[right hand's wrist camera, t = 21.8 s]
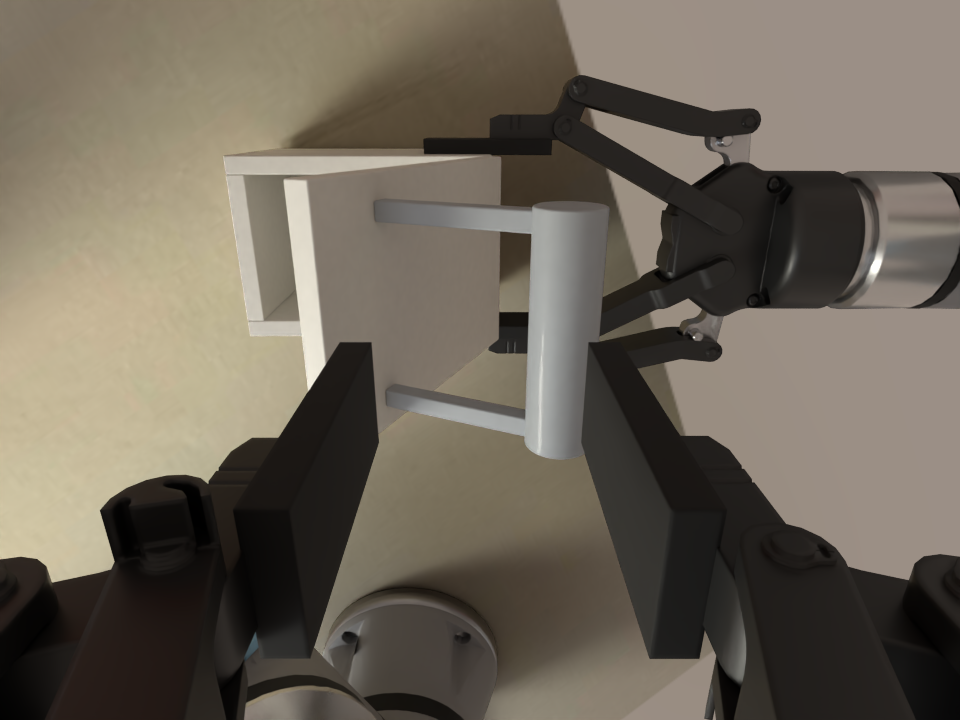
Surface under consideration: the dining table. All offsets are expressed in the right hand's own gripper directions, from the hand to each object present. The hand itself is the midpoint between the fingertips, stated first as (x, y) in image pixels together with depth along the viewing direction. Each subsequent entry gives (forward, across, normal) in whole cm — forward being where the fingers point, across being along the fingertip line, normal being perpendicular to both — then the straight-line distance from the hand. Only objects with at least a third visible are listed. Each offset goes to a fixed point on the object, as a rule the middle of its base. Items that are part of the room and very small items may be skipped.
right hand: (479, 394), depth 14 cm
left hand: (+20, +3, 0) cm, 20 cm away
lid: (+11, +3, 0) cm, 11 cm away
